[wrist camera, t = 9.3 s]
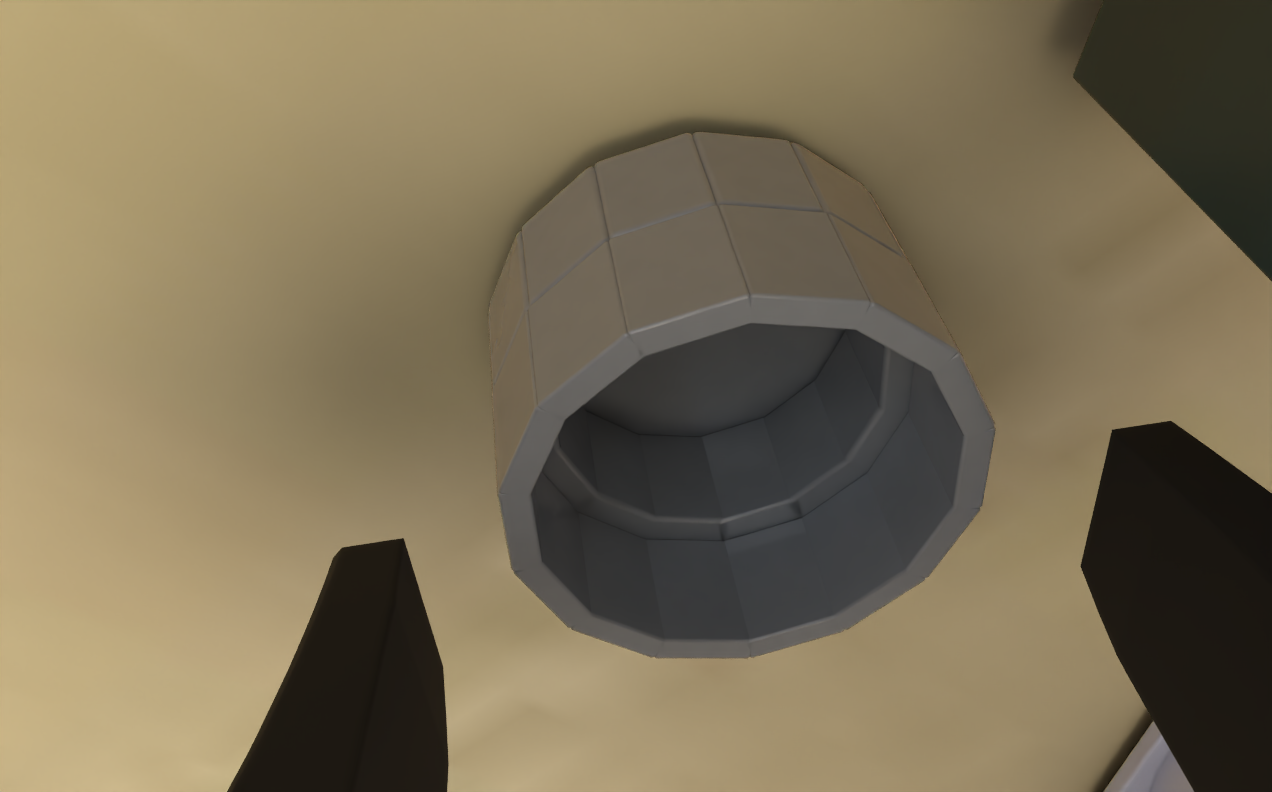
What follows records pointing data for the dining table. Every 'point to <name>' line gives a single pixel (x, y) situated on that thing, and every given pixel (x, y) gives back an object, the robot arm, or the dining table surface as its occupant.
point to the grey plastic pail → (725, 403)
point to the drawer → (1194, 101)
